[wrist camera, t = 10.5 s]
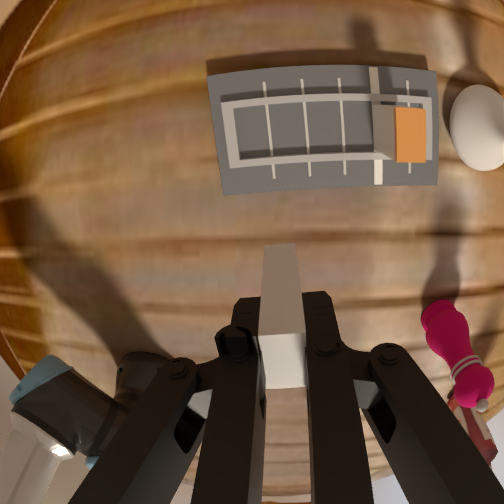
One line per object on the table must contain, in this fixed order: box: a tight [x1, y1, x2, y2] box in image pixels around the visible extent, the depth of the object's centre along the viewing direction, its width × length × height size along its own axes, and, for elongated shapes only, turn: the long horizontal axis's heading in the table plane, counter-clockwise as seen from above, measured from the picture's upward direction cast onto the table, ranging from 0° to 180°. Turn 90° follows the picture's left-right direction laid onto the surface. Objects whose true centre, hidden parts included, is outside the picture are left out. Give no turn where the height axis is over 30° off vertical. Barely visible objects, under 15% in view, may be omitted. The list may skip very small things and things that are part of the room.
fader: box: [372, 104, 426, 163], centre depth 27 cm, size 3×5×8 cm, turn 6°
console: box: [207, 65, 439, 196], centre depth 32 cm, size 26×14×3 cm, turn 96°
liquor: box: [447, 393, 498, 470], centre depth 42 cm, size 7×7×28 cm
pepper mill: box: [421, 299, 494, 412], centre depth 35 cm, size 7×7×20 cm
